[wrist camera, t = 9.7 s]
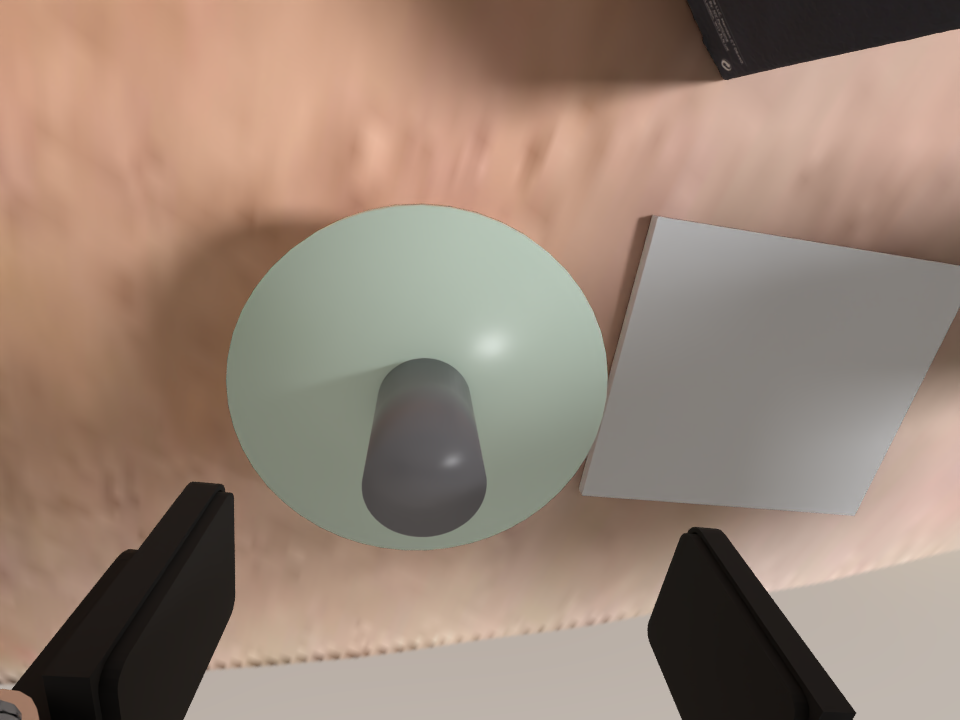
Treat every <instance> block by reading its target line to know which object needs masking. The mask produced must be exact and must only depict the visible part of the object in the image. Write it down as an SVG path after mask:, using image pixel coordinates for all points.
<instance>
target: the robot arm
mask: <svg viewBox="0 0 960 720" xmlns="http://www.w3.org/2000/svg"><path fill="white" fill-rule="evenodd" d="M234 602H235V545H234V496H233V494H232V493H228V492H225V488H224V485H222V484H214V483H202V482H190V483H189V484H188V485H187V486H186V487H185V489H184V490H183V491H182V493H181V494H180V495H179V497H178V498H177V499H176V501H175V502H174V503H173V505H172V506H171V507H170V508H169V510H168V511H167V512H166V514H165V515H164V516H163V518H162V519H161V520H160V522H159V523H158V524H157V525H156V527H155V528H154V529H153V531H152V532H151V533H150V535H149V536H148V537H147V539H146V540H145V541H144V542H143V544H142V545H141V546H140V548H139V549H138V550H133V549H128V550H126V551H124V552H122V553H121V554H120V555H119V556H118V557H117V559H116V560H115V561H114V562H113V563H112V565H111V566H110V567H109V568H108V570H107V571H106V572H105V573H104V575H103V576H102V577H101V578H100V580H99V581H98V582H97V583H96V585H95V586H94V587H93V588H92V590H91V591H90V592H89V593H88V595H87V596H86V597H85V598H84V600H83V601H82V602H81V603H80V605H79V606H78V607H77V608H76V610H75V611H74V612H73V613H72V615H71V616H70V617H69V618H68V620H67V621H66V622H65V623H64V625H63V626H62V627H61V628H60V630H59V631H58V632H57V633H56V635H55V636H54V637H53V638H52V640H51V641H50V642H49V643H48V645H47V646H46V647H45V648H44V650H43V651H42V652H41V653H40V655H39V656H38V657H37V658H36V660H35V661H34V662H33V663H32V665H31V666H30V667H29V668H28V670H27V671H26V672H25V673H24V675H23V676H22V677H21V678H20V680H19V681H18V682H17V683H16V685H15V686H14V687H13V688H12V690H6V689H0V720H183V719H184V717H185V715H186V713H187V711H188V708H189V706H190V704H191V702H192V700H193V697H194V695H195V693H196V690H197V689H198V686H199V684H200V682H201V680H202V678H203V675H204V673H205V671H206V669H207V667H208V665H209V662H210V660H211V658H212V656H213V654H214V651H215V649H216V647H217V645H218V643H219V640H220V638H221V636H222V634H223V632H224V629H225V627H226V625H227V623H228V621H229V618H230V616H231V613H232V610H233V607H234ZM648 638H649V642H650V644H651V647H652V649H653V652H654V654H655V656H656V659H657V661H658V664H659V666H660V668H661V671H662V673H663V675H664V678H665V680H666V683H667V685H668V687H669V689H670V692H671V695H672V697H673V699H674V702H675V704H676V706H677V709H678V711H679V713H680V716H681V718H682V720H853V718H854V716H855V714H856V712H855V711H854V709H853V708H852V707H851V705H850V704H849V703H848V701H847V700H846V698H845V697H844V696H843V694H842V693H841V692H840V690H839V689H838V687H837V686H836V685H835V683H834V682H833V681H832V679H831V678H830V677H829V675H828V674H827V672H826V671H825V670H824V668H823V667H822V666H821V664H820V663H819V662H818V660H817V659H816V658H815V656H814V655H813V654H812V652H811V651H810V649H809V648H808V647H807V645H806V644H805V643H804V641H803V640H802V639H801V637H800V636H799V634H798V633H797V632H796V630H795V629H794V628H793V626H792V625H791V624H790V622H789V621H788V620H787V618H786V617H785V615H784V614H783V613H782V611H781V610H780V609H779V607H778V606H777V605H776V603H775V602H774V600H773V599H772V598H771V596H770V595H769V594H768V592H767V591H766V590H765V588H764V587H763V585H762V584H761V583H760V581H759V580H758V579H757V577H756V576H755V575H754V573H753V572H752V570H751V569H750V568H749V566H748V565H747V564H746V562H745V561H744V560H743V558H742V557H741V555H740V554H739V553H738V551H737V550H736V549H735V547H734V546H733V545H732V543H731V542H730V541H729V539H728V538H727V536H726V535H725V534H724V533H723V532H722V531H721V530H719V529H711V528H700V527H692V528H691V529H690V530H689V531H688V533H684V534H683V535H682V536H681V537H680V540H679V542H678V545H677V548H676V550H675V553H674V556H673V558H672V561H671V564H670V566H669V569H668V572H667V574H666V577H665V580H664V582H663V585H662V588H661V591H660V593H659V596H658V599H657V601H656V604H655V607H654V609H653V612H652V615H651V617H650V620H649V623H648Z"/></svg>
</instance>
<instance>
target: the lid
mask: <svg viewBox="0 0 960 720" xmlns="http://www.w3.org/2000/svg"><path fill="white" fill-rule="evenodd" d="M607 381H608V372H607V360H606V352H605V347H604V343H603V338H602V334H601V330H600V328H599V325H598V323H597V320H596V317H595V315H594V312H593V310H592V308H591V306H590V305H589V303H588V301H587V299H586V297H585V296H584V294H583V292H582V290H581V289H580V287H579V286H578V285H577V284H576V282H575V281H574V280H573V278H572V277H571V276H570V274H569V273H568V272H567V271H566V269H565V268H563V267H562V266H561V265H560V264H559V263H558V262H557V261H556V260H555V259H554V258H553V257H552V256H551V255H550V254H549V253H548V252H547V251H546V250H544V249H543V248H542V247H540V246H539V245H538V244H536V243H535V242H534V241H532V240H531V239H530V238H528V237H527V236H526V235H524V234H523V233H521V232H519V231H517V230H515V229H514V228H512V227H510V226H508V225H506V224H504V223H503V222H501V221H498V220H496V219H493V218H490V217H488V216H485V215H482V214H480V213H477V212H474V211H469V210H465V209H460V208H456V207H452V206H444V205H433V204H402V205H392V206H386V207H381V208H375V209H370V210H366V211H363V212H360V213H357V214H354V215H351V216H348V217H345V218H342V219H340V220H338V221H336V222H334V223H332V224H330V225H328V226H326V227H324V228H322V229H320V230H318V231H317V232H315V233H314V234H312V235H311V236H309V237H308V238H306V239H305V240H304V241H302V242H301V243H299V244H298V245H296V246H295V247H294V248H292V249H291V250H290V251H289V252H288V253H287V254H285V255H284V256H283V257H282V258H281V259H280V260H279V261H278V262H277V263H276V264H275V265H274V266H272V267H271V268H270V270H269V271H268V272H267V273H266V275H265V276H264V277H263V278H262V280H261V281H260V282H259V283H258V285H257V286H256V287H255V289H254V290H253V292H252V294H251V295H250V297H249V299H248V301H247V302H246V304H245V306H244V308H243V309H242V311H241V314H240V316H239V319H238V322H237V324H236V327H235V329H234V332H233V335H232V340H231V344H230V349H229V353H228V358H227V374H226V386H227V397H228V406H229V410H230V414H231V418H232V423H233V427H234V429H235V432H236V434H237V437H238V439H239V442H240V444H241V447H242V449H243V451H244V452H245V454H246V456H247V458H248V459H249V461H250V463H251V465H252V466H253V468H254V469H255V471H256V472H257V473H258V474H259V476H260V477H261V478H262V480H263V481H264V482H265V484H266V485H267V486H268V487H269V488H270V489H271V490H272V491H273V492H274V493H275V494H276V495H277V496H278V497H279V498H280V499H281V500H282V501H283V502H284V503H285V504H287V505H288V506H289V507H291V508H292V509H293V510H294V511H296V512H297V513H298V514H300V515H301V516H302V517H304V518H306V519H307V520H309V521H311V522H312V523H314V524H316V525H317V526H319V527H321V528H323V529H325V530H327V531H330V532H332V533H334V534H336V535H338V536H341V537H344V538H347V539H350V540H353V541H356V542H359V543H362V544H367V545H372V546H376V547H381V548H389V549H398V550H434V549H444V548H451V547H455V546H460V545H465V544H470V543H473V542H476V541H479V540H482V539H485V538H489V537H491V536H493V535H496V534H498V533H500V532H503V531H505V530H507V529H509V528H511V527H513V526H515V525H516V524H518V523H520V522H522V521H523V520H525V519H527V518H528V517H530V516H531V515H532V514H534V513H535V512H537V511H538V510H539V509H541V508H542V507H543V506H545V505H546V504H547V503H548V502H549V501H550V500H551V499H552V498H554V497H555V496H556V495H557V494H558V493H559V492H560V491H561V490H562V489H563V488H564V486H565V485H566V484H567V483H568V482H569V481H570V479H571V478H572V477H573V476H574V475H575V473H576V472H577V470H578V469H579V467H580V466H581V464H582V463H583V461H584V460H585V458H586V456H587V454H588V452H589V450H590V448H591V446H592V444H593V442H594V440H595V438H596V435H597V432H598V429H599V427H600V424H601V421H602V417H603V412H604V407H605V403H606V397H607Z"/></svg>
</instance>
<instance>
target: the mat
mask: <svg viewBox="0 0 960 720" xmlns="http://www.w3.org/2000/svg"><path fill="white" fill-rule="evenodd" d="M959 308H960V265H953V264H947V263H941V262H935V261H929V260H923V259H917V258H911V257H905V256H899V255H893V254H886V253H880V252H874V251H868V250H862V249H856V248H850V247H844V246H838V245H832V244H826V243H819V242H813V241H807V240H801V239H795V238H789V237H783V236H777V235H771V234H765V233H759V232H752V231H746V230H740V229H734V228H728V227H722V226H716V225H710V224H704V223H698V222H692V221H685V220H679V219H673V218H667V217H661V216H655V215H652V218H651V222H650V226H649V229H648V233H647V237H646V241H645V244H644V248H643V252H642V255H641V259H640V263H639V267H638V270H637V274H636V278H635V281H634V285H633V289H632V293H631V296H630V300H629V304H628V307H627V311H626V315H625V318H624V322H623V326H622V330H621V333H620V337H619V341H618V344H617V348H616V352H615V356H614V359H613V363H612V367H611V370H610V374H609V378H608V382H607V397H606V403H605V407H604V412H603V417H602V421H601V424H600V427H599V429H598V432H597V435H596V438H595V440H594V442H593V444H592V446H591V448H590V450H589V452H588V456H587V460H586V463H585V467H584V471H583V474H582V478H581V482H580V486H579V490H580V492H581V494H582V496H596V497H609V498H623V499H636V500H649V501H663V502H676V503H690V504H703V505H717V506H730V507H744V508H757V509H770V510H784V511H797V512H811V513H824V514H838V515H851V516H855V514H856V512H857V510H858V508H859V506H860V504H861V502H862V500H863V498H864V496H865V494H866V492H867V490H868V488H869V486H870V484H871V482H872V480H873V478H874V476H875V474H876V472H877V470H878V468H879V466H880V464H881V462H882V460H883V458H884V456H885V454H886V452H887V450H888V448H889V446H890V445H891V443H892V441H893V439H894V437H895V435H896V433H897V431H898V429H899V427H900V425H901V423H902V421H903V419H904V417H905V415H906V413H907V411H908V409H909V407H910V405H911V403H912V401H913V399H914V397H915V395H916V393H917V391H918V389H919V387H920V385H921V383H922V381H923V379H924V377H925V375H926V373H927V371H928V369H929V367H930V365H931V363H932V361H933V359H934V357H935V355H936V353H937V351H938V349H939V347H940V345H941V343H942V341H943V339H944V337H945V335H946V333H947V331H948V329H949V327H950V325H951V323H952V321H953V319H954V317H955V316H956V314H957V312H958V310H959Z"/></svg>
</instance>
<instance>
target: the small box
mask: <svg viewBox="0 0 960 720" xmlns="http://www.w3.org/2000/svg"><path fill="white" fill-rule="evenodd" d="M687 2H688V4H689V7H690V9H691V11H692V13H693V17H694V19H695V21H696V22H697V24H698V27H699V29H700V31H701V33H702V36H703V43H704V44H705V46H706V48H707V50H708V51H709V53H710V55H711V57H712V59H713V60H714V63H715V64H716V66H717V67H718V70H719V72H720V74H721V76H722V78H723V79H724V80H729V79H732V78H737V77H741V76H745V75H750V74H754V73H758V72H763V71H767V70H772V69H776V68H780V67H785V66H790V65H794V64H798V63H803V62H808V61H813V60H817V59H821V58H826V57H831V56H835V55H840V54H844V53H849V52H854V51H858V50H863V49H867V48H872V47H877V46H882V45H886V44H890V43H895V42H900V41H906V40H911V39H915V38H919V37H923V36H927V35H931V34H935V33H942V32H945V31H949V30H955V29H960V0H687Z"/></svg>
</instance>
